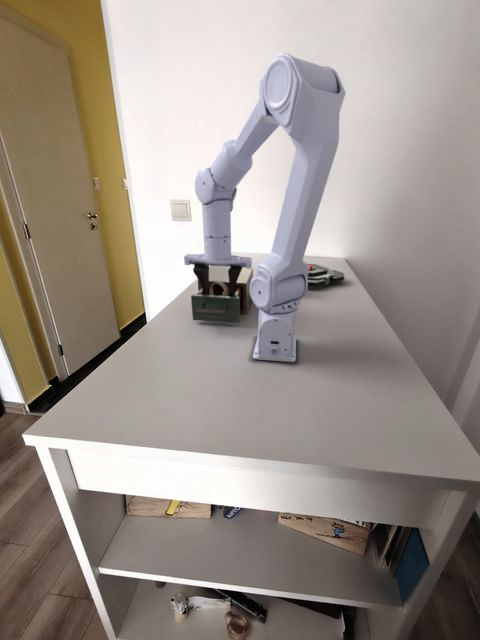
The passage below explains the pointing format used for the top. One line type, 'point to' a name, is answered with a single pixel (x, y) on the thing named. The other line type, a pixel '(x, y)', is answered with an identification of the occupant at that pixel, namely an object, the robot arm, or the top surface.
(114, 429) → the top surface
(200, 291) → the drawer
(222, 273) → the cabinet
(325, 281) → the four-lobed dark green device
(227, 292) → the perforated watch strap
